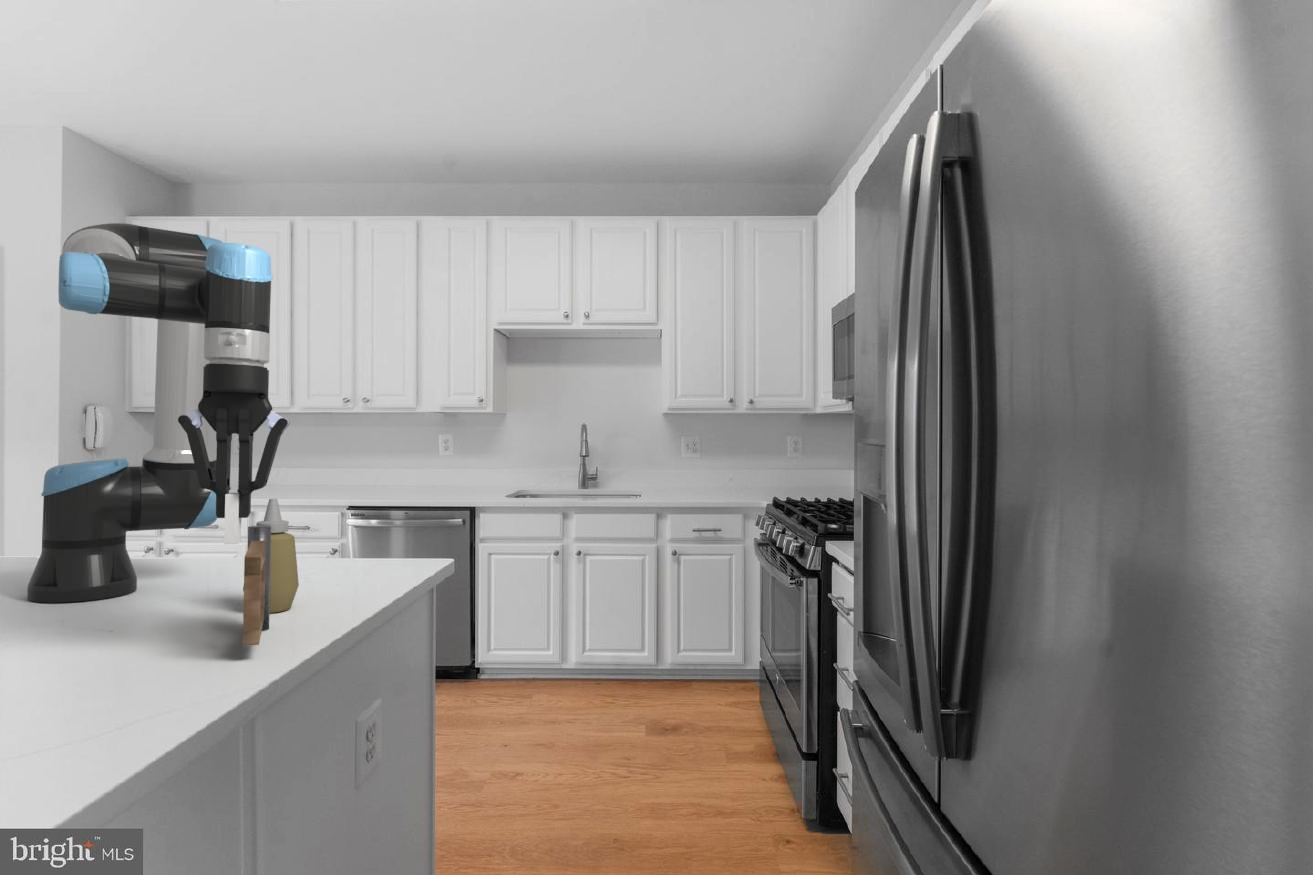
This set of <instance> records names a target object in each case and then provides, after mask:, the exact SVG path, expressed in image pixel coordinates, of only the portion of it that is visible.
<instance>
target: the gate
mask: <svg viewBox="0 0 1313 875" xmlns="http://www.w3.org/2000/svg"><path fill="white" fill-rule="evenodd" d="M265 555H266V541H251V544H250V546H249V548H248V547H247V551H246V552H245V555H244V559H243V560H244V564H243V565H244V566H243V567H244V568H243V569H244V570H243V586H244V591H243V610H242V612H243V613H242V615H243V617H242V618H243V619H242V620H243V621H242V622H243V623H242V647H249V646H250V647H251V646H260V640H261V635H262V632H263V631H262V626H263V621H264V604H265Z"/></svg>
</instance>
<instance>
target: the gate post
mask: <svg viewBox="0 0 1313 875" xmlns="http://www.w3.org/2000/svg"><path fill="white" fill-rule="evenodd" d="M251 541H266V555H265V604H264V621H263V626H262V631H261V632H264V631H268V630H269V629H270V613H269V610H270V561H271V526H265V525H261V526H256V525H250V526H248V527H247V549H248V548H249V546H250V544H251Z"/></svg>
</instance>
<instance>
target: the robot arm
mask: <svg viewBox="0 0 1313 875" xmlns="http://www.w3.org/2000/svg"><path fill="white" fill-rule="evenodd" d="M273 277H274V276H273V274H272V259H271V256H270V254H269V253H268V252H267V251H266V250H265V249H262V248H259V247H257V246H253V245H248V244H243V243H235V242H223V241H222V240H220V239H217V238H213V237H209V236H204V235H201V234H196V233H195V234H194V233H189V232H183V231H175V230H168V229H163V228H157V227H156V228H154V227H147V226H141V225H137V224H134V223H133V224H131V223H122V222H121V223H115V222H112V223H111V222H110V223H102V224H94V225H90V226H88V225H87V226H86V227H82V228H81V229H77V230H76V231H74V232H72V233H71V234H69V236H68V237H67V239H66V240H65V241H64V243H63V246H62V252H61V254H60V255H59V261H58V293H57V294H58V303H59V305H60V306H61V308H63V309H65V310H69V311H74V312H82V313H86V314H89V315H98V314H99V315H110V316H121V317H122V316H123V317H130V318H131V317H134V318H144V319H145V318H146V319H152V320H153V319H155V320H157V332H156V333H157V334H156V360H155V363H156V364H155V385H154V386H155V388H154V413H153V414H154V415H153V416H154V418H153V442H152V445H153V446H152V447H151V449H150V450H148V451H146V453H145V454H143V455H142V465H141V466H130V465H129V462H128V460H127V458H111V459H101V460H99V459H98V460H92V461H91V460H90V461H83V462H82V461H81V462H74V463H67V464H61V465H60V464H58V465H55V466H53V467H50V468H49V469H48V470H46V471H45V474H44V478H43V486H42V487H43V488H42V489H43V490H42V492H41V494H40V495H41V497H43V501H42V502H43V503H42V504H43V505H42V526H41V527H42V529H41V530H42V531H41V533H42V534H41V553H40V555H39V558H38V561H37V563H36V565H35V568H34V570H33V572H32V574H31V577H30V579H29V582H28V585H27V589H26V590H27V593H26V594H27V595H26V596H27V600H28V601H31V602H34V603H35V602H36V603H74V602H76V603H77V602H87V601H95V600H103V599H110V598H114V597H115V598H116V597H119V596H123V595H128V594H131V593H133V592H136V590H137V588H138V587H137V586H138V578H137V574H136V571H135V569H134V566H133V562H132V560H131V558H130V556H129V553H128V550H127V546H126V544H127V543H126V542H127V540H126V539H127V532H137V531H138V532H139V531H155V530H173V529H174V530H176V529H177V530H178V529H184V530H190V529H193V528H204V527H209V526H211V525H213V524H214V523H215V522H216V521H217V519H224V531H223V532H224V534H223V535H224V537H223V538H224V540H223V543H224V544H223V545H238V544H239V543H240V542H241V541H242V519H243V518H244V519H247V518H249V517H250V514H251V507H252V506H251V505H252V504H251V503H252V493H253V492H254V491H258V490H260V489H263V488H264V487H267V484H268V481H269V477H270V473H271V471H272V467H273V464H274V461H275V457H276V452H277V450H278V446H279V444H280V441H281V436H282V435H283V434H284V432H285V431H286V430H287V428H288V427H289V425H290V424H291V422H290V420H289V419H288V418H286V417H285V418H284V417H282V416H281V415H280V414H278V413H277V412H274V411H273V406H272V404H271V402H270V399H269V384H270V382H269V381H270V378H269V376H270V370H268V367H265V364H268V363H270V346H271V342H270V341H271V334H270V333H271V332H270V325H271V298H272V297H271V295H272V281H273ZM267 419H268V423H267V427H268V428H269V429H270V430H269V433H268V434H267V438H266V441H265V445H264V448H263V452H262V454H261V455H262V456H261V458H260V461H259V465H258V469H257V472H256V475H255V479H254V480H253V446H254V433H256V432H257V431H258V430H259V429H260V428H261V426H262V425H263V424H264V423H265V421H266V420H267ZM209 427H211V428H212V430H213V431H214V432H215V433H216V434H215V436H216V437H215V440H216V455H215V454H214V453H213V452H212V451H211V450H210V449H209V430H210V428H209ZM233 434H236V435H238V444H239V445H238V482H237V483H238V484H237V485H238V486H237V487H238V488H237V489H236V491H237V492H230V490H231V489H232V487H231V462H232V461H231V460H232V459H231V457H232V456H231V455H232V454H231V453H232V452H231V451H232V441H233V440H232V439H233Z"/></svg>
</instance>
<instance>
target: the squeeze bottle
mask: <svg viewBox="0 0 1313 875" xmlns="http://www.w3.org/2000/svg"><path fill="white" fill-rule="evenodd" d="M278 502H279V501H278V498H269V499H268V502H267V506H266V511H265V514H264V517H263V520H260V521H257V522H256V525H255V526H261V525H265V526H271V561H270V610H269V614H274V613H275V614H276V613H280V612H285V611H287V610H290V609H291V608H292V605H293V603H294V600H295V597H296V594H297V592H298V588H299V586H300V584H299V573H298V572H299V571H298V563H297V560H298V559H297V553H296V540H295V536H294V535H293V534H291V533H288V531H289V521H288V520H284V519H282V516H281V515H282V514H281V511H280V506H279V503H278ZM242 588H243V589H242V591H243V592H244V585H243V586H242Z"/></svg>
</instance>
